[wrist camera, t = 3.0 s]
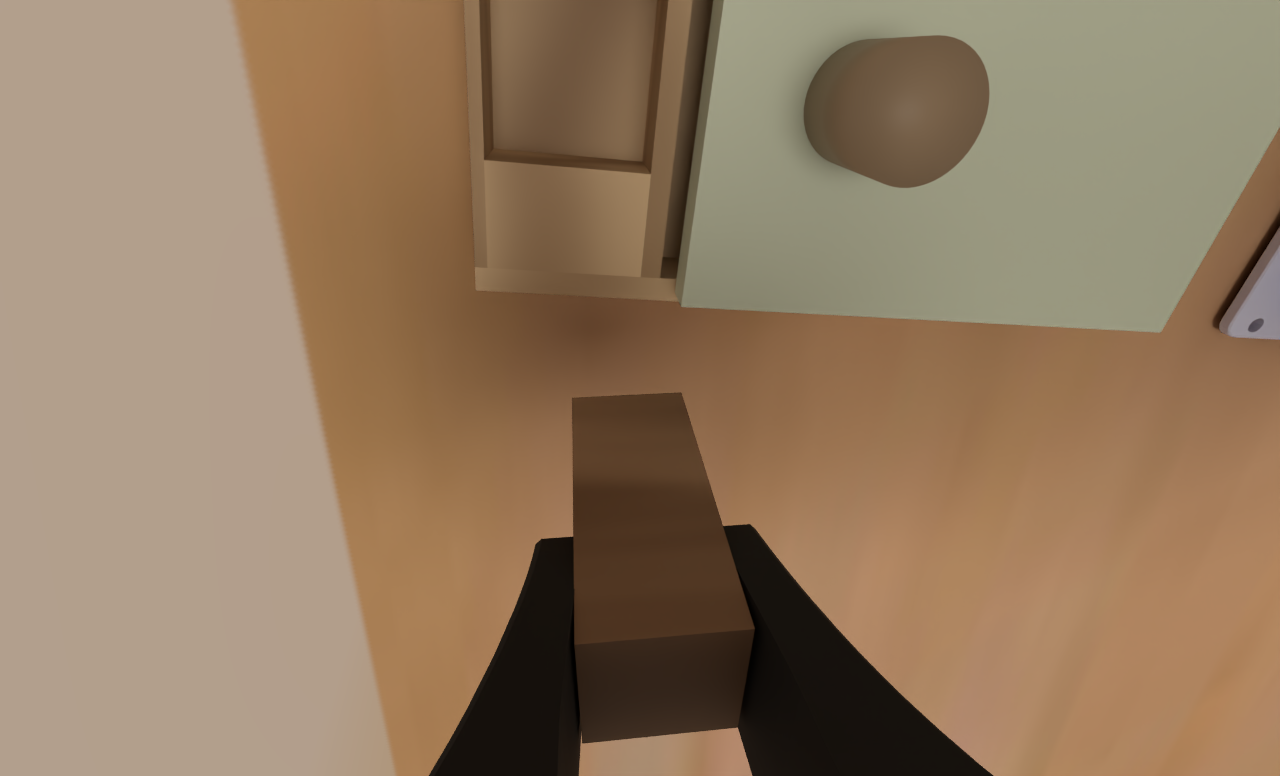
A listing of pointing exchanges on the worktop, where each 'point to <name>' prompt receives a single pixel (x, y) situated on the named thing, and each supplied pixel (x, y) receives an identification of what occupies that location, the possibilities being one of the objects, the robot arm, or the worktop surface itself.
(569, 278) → the shallow wooden tray
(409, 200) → the worktop surface
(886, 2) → the lid
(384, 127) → the worktop surface
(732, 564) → the dark brown rectangular block
